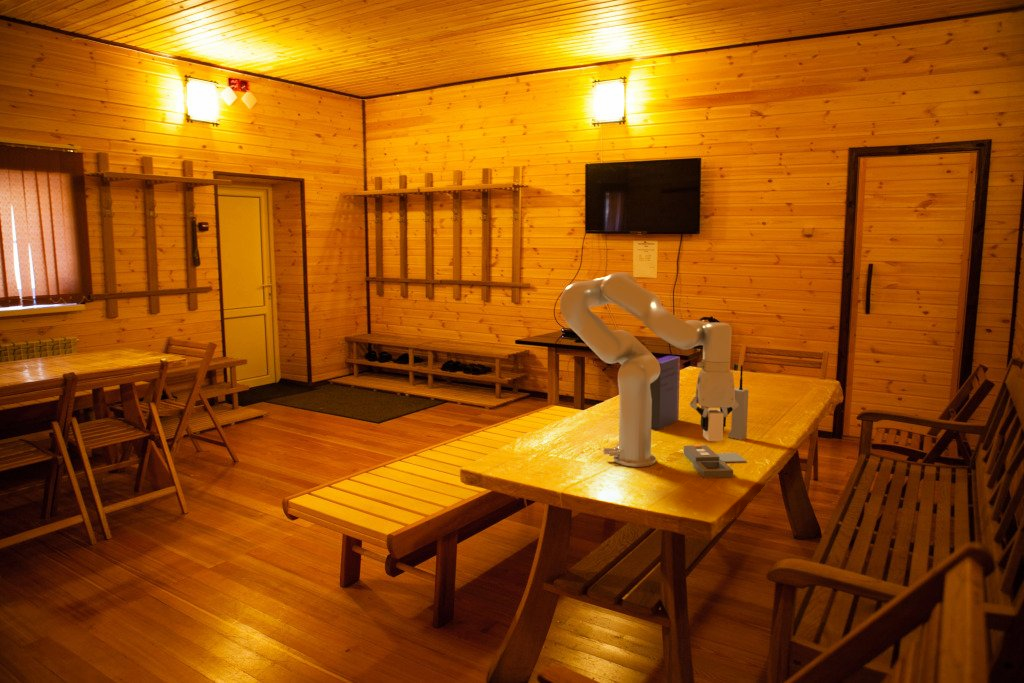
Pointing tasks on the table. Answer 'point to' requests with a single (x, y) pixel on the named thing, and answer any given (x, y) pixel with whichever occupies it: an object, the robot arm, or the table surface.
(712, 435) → the plug
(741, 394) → the vintage mobile phone
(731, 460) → the rubber mat
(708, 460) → the charging dock
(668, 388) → the cereal box
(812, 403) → the table surface
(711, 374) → the robot arm
